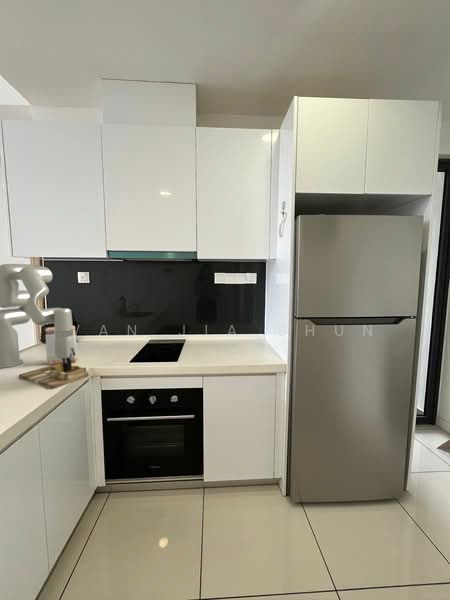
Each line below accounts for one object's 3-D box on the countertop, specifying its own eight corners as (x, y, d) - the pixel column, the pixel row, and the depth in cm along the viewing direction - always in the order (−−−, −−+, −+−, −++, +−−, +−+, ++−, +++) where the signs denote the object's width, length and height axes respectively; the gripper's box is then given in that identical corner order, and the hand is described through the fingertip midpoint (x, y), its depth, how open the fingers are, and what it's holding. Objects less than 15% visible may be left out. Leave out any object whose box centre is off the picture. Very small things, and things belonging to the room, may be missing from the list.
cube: (56, 374, 132) (54, 365, 133) (66, 371, 136) (63, 362, 136) (61, 372, 130) (59, 363, 130) (70, 369, 134) (68, 361, 134)
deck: (19, 377, 132) (18, 374, 132) (54, 367, 147) (54, 364, 147) (53, 388, 119) (53, 385, 119) (88, 376, 134) (88, 373, 134)
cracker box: (77, 359, 160) (75, 325, 159) (75, 362, 155) (73, 327, 153) (50, 362, 156) (48, 326, 154) (47, 365, 150) (44, 328, 148)
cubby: (50, 375, 130) (49, 370, 130) (70, 369, 139) (70, 363, 139) (66, 380, 124) (66, 374, 124) (86, 373, 133) (86, 367, 133)
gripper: (47, 334, 130) (51, 371, 132) (65, 336, 123) (69, 375, 125) (62, 331, 137) (66, 366, 138) (81, 333, 130) (84, 370, 131)
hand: (67, 370), depth 131 cm, fingers closed
